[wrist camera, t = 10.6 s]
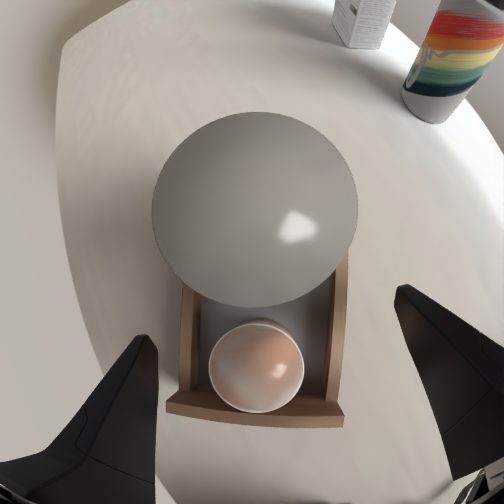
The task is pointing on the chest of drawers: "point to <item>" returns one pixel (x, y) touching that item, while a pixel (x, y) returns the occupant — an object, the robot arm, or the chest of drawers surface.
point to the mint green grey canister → (254, 209)
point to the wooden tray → (307, 339)
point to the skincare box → (362, 21)
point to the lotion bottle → (453, 56)
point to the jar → (257, 366)
